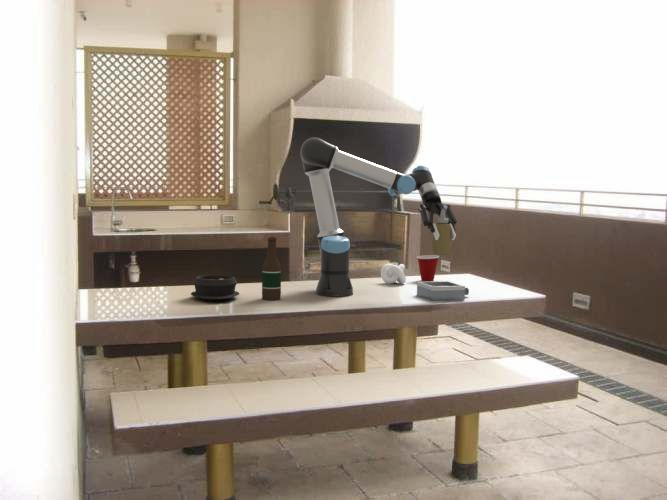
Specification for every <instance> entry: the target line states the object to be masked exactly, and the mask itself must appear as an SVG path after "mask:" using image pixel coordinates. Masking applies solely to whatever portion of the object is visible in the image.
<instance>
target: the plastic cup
mask: <svg viewBox="0 0 667 500" xmlns="http://www.w3.org/2000/svg"><path fill="white" fill-rule="evenodd" d="M439 258H440V255H437V254H433V255H432V254H426V255H418V256H416V259H417V262H418V267H419V268H418V269H419V273H420V279H421V282H429V281H434V280H435V275H436V271H437V265H438V263H439Z"/></svg>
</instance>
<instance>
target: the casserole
mask: <svg viewBox="0 0 667 500" xmlns="http://www.w3.org/2000/svg"><path fill="white" fill-rule="evenodd" d="M192 284H193V285H194V289H195V291H192V292H191V293H190V295H191V296H192V297H195V298H198V299H201V300H204V301H210V302H211V301H218V302H219V301H226V300H231V299H233V298H235V297H237V296H239V295H240V292H239V291H237V290H236V286H237V284H238V281H237V280H236V277H235V276H232V275H228V274H204V275H203V274H202V275H197V276H195V278H194V280H193V282H192Z"/></svg>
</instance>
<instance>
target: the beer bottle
mask: <svg viewBox="0 0 667 500" xmlns="http://www.w3.org/2000/svg"><path fill="white" fill-rule="evenodd" d="M277 241H278V239H277V237H275V236H269V237H267V251H266V252H267V255H266V258H265V259H264V261H263V264H262V269H261V270H262V271H261V273H262V275H261V279H262V280H261V281H262V283H261V299H262V300H263V301H279V300H281V296H282V295H281V294H282V267H281V266H282V265H281V263H280V261H279V259H278V255H277Z"/></svg>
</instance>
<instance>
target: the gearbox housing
mask: <svg viewBox="0 0 667 500" xmlns="http://www.w3.org/2000/svg"><path fill="white" fill-rule="evenodd" d="M416 282H417V283H416V296H419V297H421V298H424V299H425V300H426V299H427V300H429V301H432V302H438V301H439V302H441V301H465V296H467V295H469V293H470V290H469V288H468V287H466V285H465V286H464V285H463V284H459V283H456V282H452V281H449V280H444V281H443V280H439V281H437V280H436V281H434V280H433V281H416Z"/></svg>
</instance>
